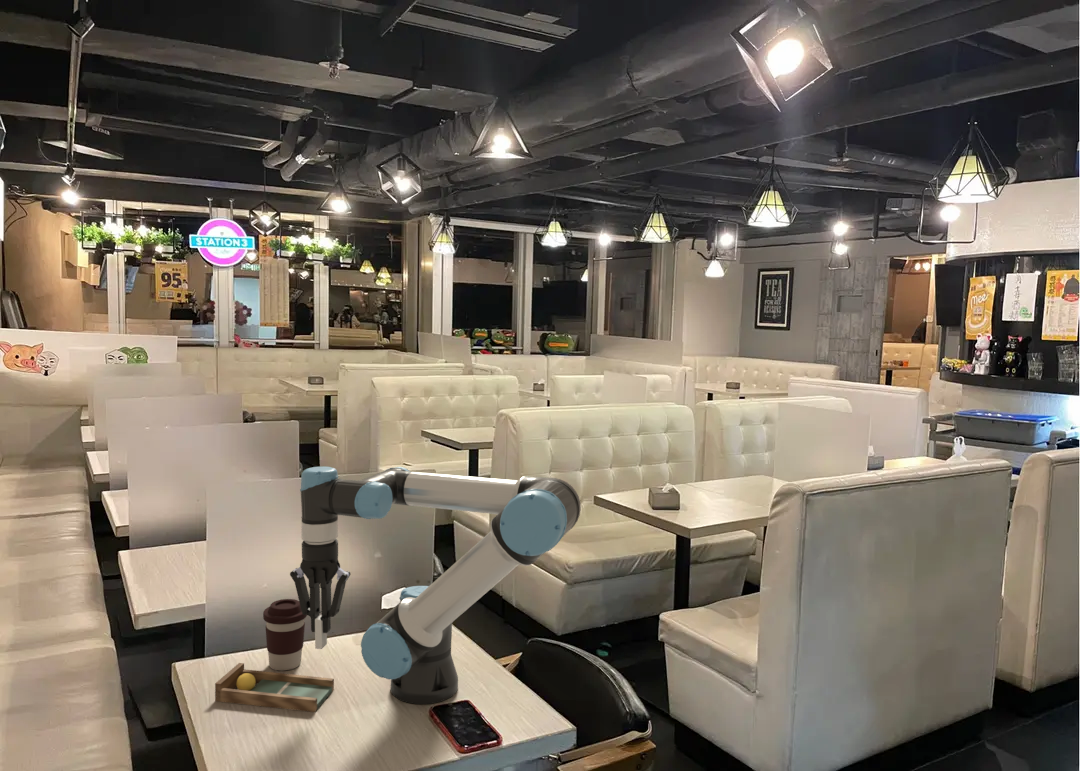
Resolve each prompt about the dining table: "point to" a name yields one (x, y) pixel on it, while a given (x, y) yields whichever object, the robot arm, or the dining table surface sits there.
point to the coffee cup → (284, 633)
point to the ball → (246, 682)
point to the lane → (275, 690)
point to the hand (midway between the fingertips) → (321, 646)
